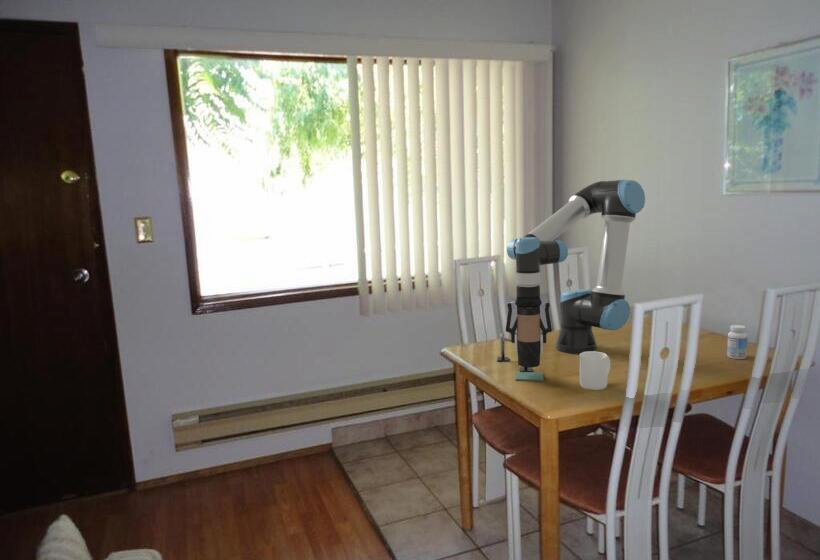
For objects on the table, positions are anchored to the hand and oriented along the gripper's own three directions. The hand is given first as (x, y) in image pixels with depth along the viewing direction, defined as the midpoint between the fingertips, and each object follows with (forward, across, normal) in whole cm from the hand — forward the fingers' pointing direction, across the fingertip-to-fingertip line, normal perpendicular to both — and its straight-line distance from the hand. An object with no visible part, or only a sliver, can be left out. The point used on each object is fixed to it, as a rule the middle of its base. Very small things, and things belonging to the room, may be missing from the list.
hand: (528, 352), depth 185 cm
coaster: (+9, 0, 0) cm, 9 cm away
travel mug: (+4, 0, 0) cm, 4 cm away
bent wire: (+9, +5, -13) cm, 16 cm away
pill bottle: (+9, -73, -25) cm, 78 cm away
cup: (+9, -21, +6) cm, 24 cm away
